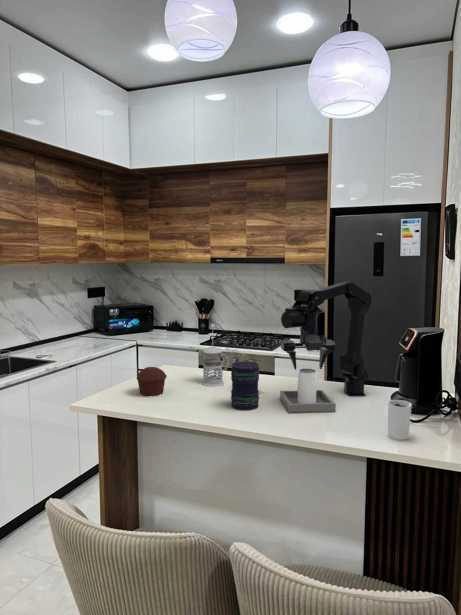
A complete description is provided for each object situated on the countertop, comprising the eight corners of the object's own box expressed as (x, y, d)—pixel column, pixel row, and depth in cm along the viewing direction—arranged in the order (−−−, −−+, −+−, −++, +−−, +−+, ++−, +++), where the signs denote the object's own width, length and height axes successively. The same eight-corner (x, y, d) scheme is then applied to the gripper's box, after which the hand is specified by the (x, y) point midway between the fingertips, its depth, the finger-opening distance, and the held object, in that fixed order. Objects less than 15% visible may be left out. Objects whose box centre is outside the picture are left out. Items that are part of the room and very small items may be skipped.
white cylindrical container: (381, 435, 138) (383, 402, 137) (394, 430, 142) (396, 398, 141) (401, 442, 133) (403, 408, 132) (414, 436, 137) (416, 404, 136)
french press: (199, 380, 197) (198, 322, 194) (225, 379, 199) (225, 321, 196) (203, 387, 187) (202, 326, 184) (231, 385, 190) (231, 325, 187)
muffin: (130, 394, 178) (129, 368, 177) (150, 387, 187) (150, 363, 186) (153, 399, 171) (152, 373, 170) (173, 392, 180) (172, 367, 179)
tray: (322, 397, 174) (322, 389, 174) (335, 412, 158) (335, 403, 158) (279, 398, 172) (280, 390, 172) (289, 413, 157) (289, 404, 156)
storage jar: (263, 404, 166) (263, 363, 165) (251, 412, 158) (251, 369, 156) (238, 400, 171) (238, 360, 169) (225, 407, 162) (226, 366, 161)
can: (304, 407, 161) (305, 373, 160) (293, 402, 167) (294, 369, 165) (319, 404, 164) (320, 371, 162) (308, 399, 170) (309, 367, 168)
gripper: (287, 330, 154) (287, 375, 156) (342, 329, 156) (340, 374, 158) (280, 325, 165) (280, 367, 167) (331, 324, 167) (330, 366, 169)
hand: (307, 369), depth 165 cm, fingers open, 9 cm apart
